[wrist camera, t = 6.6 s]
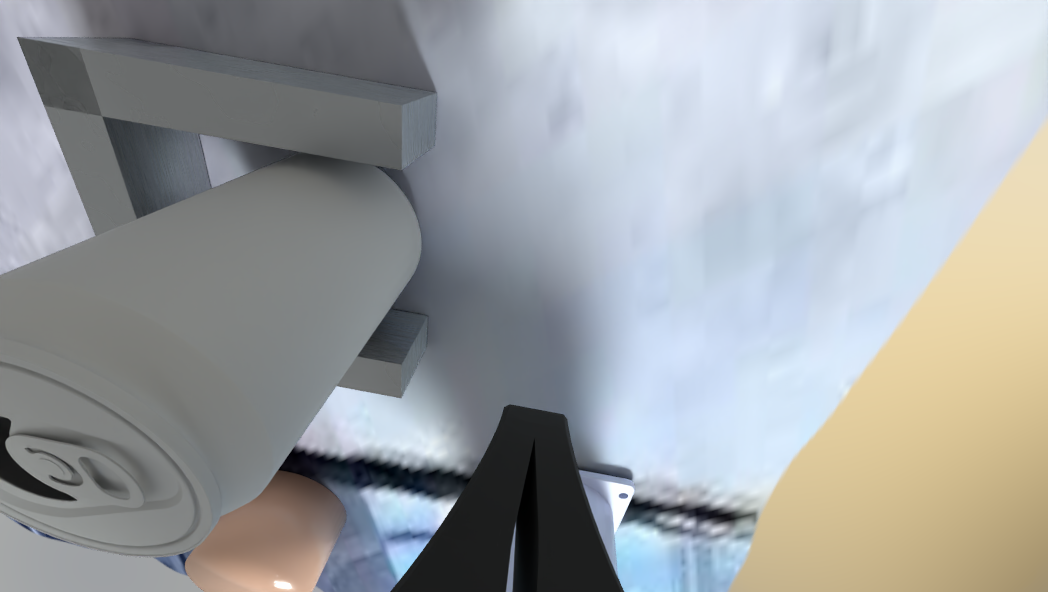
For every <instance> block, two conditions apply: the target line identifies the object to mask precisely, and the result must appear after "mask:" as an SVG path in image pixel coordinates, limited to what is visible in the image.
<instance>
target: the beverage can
mask: <svg viewBox="0 0 1048 592" xmlns="http://www.w3.org/2000/svg"><path fill="white" fill-rule="evenodd" d="M421 246H422V245H421V232H420V227H419V223H418V220H417V217H416V214H415V212H414V210H413V208H412V206H411V204H410V202H409V201H408V199H407V197H406V196H405V194H404V193H403V192H402V190H401V189H400V188H399V187H398V186H397V184H396V183H395V182H394V181H393V180H392V179H391V178H390V177H389V176H387V175H386V174H385V173H384V172H383V171H381V170H380V169H379V168H377V167H376V166H374V165H369V164H364V163H358V162H353V161H347V160H342V159H336V158H331V157H325V156H320V155H314V154H308V153H303V152H300V153H297V154H295V155H292V156H290V157H287V158H285V159H283V160H280V161H278V162H275V163H273V164H270V165H268V166H265V167H263V168H261V169H258V170H256V171H253V172H251V173H248V174H246V175H243V176H241V177H239V178H236V179H234V180H231V181H229V182H226V183H224V184H222V185H219V186H217V187H214V188H212V189H209V190H207V191H204V192H202V193H200V194H197V195H195V196H192V197H190V198H187V199H185V200H182V201H180V202H178V203H175V204H173V205H170V206H168V207H165V208H163V209H161V210H158V211H156V212H153V213H151V214H148V215H146V216H143V217H141V218H139V219H136V220H134V221H131V222H129V223H126V224H124V225H121V226H119V227H117V228H114V229H112V230H109V231H107V232H104V233H102V234H100V235H97V236H95V237H92V238H90V239H87V240H85V241H82V242H80V243H78V244H75V245H73V246H70V247H68V248H65V249H63V250H60V251H58V252H56V253H53V254H51V255H48V256H46V257H43V258H41V259H39V260H36V261H34V262H31V263H29V264H26V265H24V266H21V267H19V268H17V269H14V270H12V271H9V272H7V273H4V274H2V275H0V513H2V514H4V515H6V516H8V517H10V518H12V519H14V520H16V521H18V522H20V523H22V524H24V525H27V526H29V527H31V528H33V529H36V530H38V531H41V532H43V533H46V534H48V535H51V536H53V537H56V538H59V539H61V540H64V541H67V542H70V543H73V544H77V545H80V546H83V547H87V548H91V549H95V550H99V551H103V552H108V553H113V554H119V555H125V556H135V557H166V556H173V555H178V554H182V553H185V552H188V551H190V550H192V549H194V548H196V547H197V546H199V545H200V544H201V543H202V542H203V541H204V540H205V539H206V538H207V536H208V535H209V534H210V532H211V531H212V530H213V528H214V527H215V526H216V524H217V523H218V521H219V518H220V517H221V516H223V515H225V514H227V513H230V512H232V511H234V510H236V509H237V508H239V507H241V506H243V505H245V504H247V503H249V502H250V501H252V500H253V499H255V498H256V497H257V496H258V495H260V494H261V493H262V492H263V490H264V489H265V488H266V486H267V485H268V484H269V482H270V481H271V479H272V478H273V476H274V475H275V474H276V472H277V471H278V469H279V468H280V466H281V465H282V464H283V462H284V461H285V459H286V458H287V456H288V455H289V453H290V452H291V451H292V449H293V448H294V446H295V445H296V443H297V442H298V441H299V439H300V438H301V436H302V435H303V433H304V432H305V430H306V429H307V428H308V426H309V425H310V423H311V422H312V420H313V419H314V417H315V416H316V415H317V413H318V412H319V410H320V409H321V407H322V406H323V405H324V403H325V402H326V400H327V399H328V397H329V396H330V394H331V393H332V392H333V390H334V389H335V387H336V386H337V384H338V383H339V381H340V380H341V379H342V377H343V376H344V374H345V373H346V371H347V370H348V369H349V367H350V366H351V364H352V363H353V361H354V360H355V358H356V357H357V356H358V354H359V353H360V351H361V350H362V348H363V347H364V345H365V344H366V343H367V341H368V340H369V338H370V337H371V335H372V334H373V333H374V331H375V330H376V328H377V327H378V325H379V324H380V322H381V321H382V320H383V318H384V317H385V315H386V314H387V312H388V311H389V309H390V308H391V307H392V305H393V304H394V302H395V301H396V299H397V298H398V297H399V295H400V294H401V292H402V291H403V289H404V288H405V286H406V285H407V284H408V282H409V281H410V279H411V278H412V276H413V274H414V273H415V271H416V269H417V266H418V263H419V260H420V255H421Z"/></svg>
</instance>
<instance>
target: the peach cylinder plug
mask: <svg viewBox="0 0 1048 592" xmlns="http://www.w3.org/2000/svg"><path fill="white" fill-rule="evenodd" d="M345 523H346V511H345V508H344V506H343V504H342V503H341V501H340V500H339V499H338V498H337V497H336V496H335V495H334V494H333V493H332V492H331V491H330V490H329V489H327V488H326V487H324V486H323V485H321V484H319V483H318V482H316V481H314V480H312V479H310V478H307V477H305V476H302V475H299V474H295V473H291V472H286V471H277V472H276V474H275V475H274V476H273V478H272V479H271V481H270V482H269V484H268V485H267V486H266V488H265V489H264V490H263V492H262V493H261V494H260V495H258V496H257V497H256V498H255V499H253V500H252V501H250V502H249V503H247V504H245V505H243V506H241V507H239V508H237V509H236V510H234V511H232V512H230V513H227V514H225V515H223V516H221V517H220V518H219V521H218V523H217V524H216V526H215V527H214V528H213V530H212V531H211V532H210V534H209V535H208V536H207V538H206V539H205V540H204V541H203V542H202V543H201V544H200V545H199V546H197V547H196V548H195V549H194V550H193V551H192V553H191V554H190V555H189V557H188V558H187V560H186V562H185V569H186V572H187V574H188V576H189V577H190V579H191V580H192V581H193V582H194V583H195V584H196V585H197V586H198V587H199V588H200V589H201V590H203V591H204V592H312V591H313V589H314V587H315V585H316V583H317V581H318V579H319V577H320V575H321V572H322V570H323V568H324V566H325V564H326V562H327V560H328V558H329V556H330V554H331V552H332V550H333V548H334V545H335V543H336V541H337V539H338V537H339V535H340V533H341V531H342V529H343V527H344V525H345Z"/></svg>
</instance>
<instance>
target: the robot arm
mask: <svg viewBox="0 0 1048 592" xmlns="http://www.w3.org/2000/svg"><path fill="white" fill-rule="evenodd" d="M634 492H635V485H634V483H633V481H631V480H629V479H625V478H620V477H614V476H609V475H604V474H598V473H593V472H588V471H582V470H578V466H577V462H576V459H575V455H574V451H573V447H572V443H571V438H570V434H569V428H568V422H567V419H566V417H565V416H564V415H563V414H558V413H552V412H547V411H542V410H536V409H531V408H526V407H520V406H515V405H508V406H506V407H504V410H503V414H502V417H501V420H500V422H499V425H498V427H497V430H496V432H495V434H494V436H493V439H492V441H491V443H490V445H489V447H488V449H487V451H486V453H485V455H484V456H483V458H482V460H481V462H480V463H479V465H478V467H477V469H476V470H475V472H474V474H473V476H472V477H471V479H470V481H469V483H468V484H467V486H466V488H465V489H464V491H463V492H462V494H461V495H460V497H459V498H458V500H457V501H456V503H455V504H454V506H453V508H452V509H451V511H450V512H449V514H448V515H447V517H446V518H445V520H444V521H443V523H442V524H441V526H440V527H439V528H438V530H437V531H436V533H435V534H434V536H433V537H432V538H431V540H430V541H429V542H428V544H427V545H426V547H425V548H424V549H423V551H422V552H421V553H420V555H419V556H418V557H417V559H416V560H415V561H414V563H413V564H412V565H411V567H410V568H409V569H408V570H407V572H406V573H405V574H404V576H403V577H402V578H401V579H400V580H399V582H398V583H397V584H396V585H395V587H394V588H393V589H392V590H391V592H624V591H623V588H622V586H621V584H620V581H619V579H618V573H617V560H616V547H615V533H616V531H617V529H618V527H619V525H620V522H621V520H622V518H623V516H624V514H625V511H626V509H627V507H628V505H629V503H630V501H631V498H632V496H633V494H634Z"/></svg>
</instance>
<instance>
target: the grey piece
mask: <svg viewBox="0 0 1048 592" xmlns="http://www.w3.org/2000/svg"><path fill="white" fill-rule="evenodd" d="M17 39H18V41H19V44H20V46H21V49H22V51H23V54H24V56H25V59H26V61H27V64H28V66H29V69H30V71H31V74H32V76H33V79H34V81H35V84H36V87H37V89H38V92H39V94H40V97H41V99H42V102H43V104H44V107H45V109H46V112H47V114H48V117H49V119H50V122H51V124H52V127H53V129H54V132H55V134H56V137H57V139H58V142H59V144H60V147H61V150H62V152H63V155H64V157H65V160H66V162H67V165H68V167H69V170H70V172H71V175H72V177H73V180H74V182H75V185H76V187H77V190H78V192H79V195H80V197H81V200H82V202H83V205H84V208H85V210H86V213H87V215H88V218H89V220H90V223H91V225H92V228H93V230H94V233H95V235H96V236H97V235H100V234H102V233H104V232H107V231H109V230H112V229H114V228H117V227H119V226H121V225H124V224H126V223H129V222H131V221H134V220H136V219H139V218H141V217H143V216H146V215H148V214H151V213H153V212H156V211H158V210H161V209H163V208H165V207H168V206H170V205H173V204H175V203H178V202H180V201H182V200H185V199H187V198H190V197H192V196H195V195H197V194H200V193H202V192H204V191H207V190H209V189H211V186H210V181H209V177H208V173H207V168H206V164H205V160H204V156H203V151H202V147H201V143H200V138H199V134H203V135H209V136H214V137H220V138H225V139H231V140H236V141H242V142H247V143H253V144H258V145H264V146H270V147H275V148H281V149H286V150H292V151H297V152H303V153H308V154H314V155H320V156H325V157H331V158H336V159H342V160H347V161H353V162H358V163H364V164H369V165H375V166H381V167H386V168H392V169H397V170H403V169H404V168H406V167H407V166H408V165H410V164H411V163H412V162H414V161H415V160H417V159H418V158H419V157H421V156H422V155H423V154H425V153H426V152H427V151H429V150H430V149H431V148H433V147H434V146H435V130H436V106H437V93H436V92H430V91H424V90H419V89H413V88H407V87H402V86H396V85H390V84H385V83H379V82H374V81H368V80H362V79H357V78H351V77H345V76H340V75H334V74H328V73H323V72H317V71H312V70H306V69H300V68H295V67H289V66H283V65H278V64H272V63H267V62H261V61H255V60H250V59H244V58H238V57H233V56H227V55H221V54H216V53H210V52H205V51H199V50H193V49H188V48H182V47H176V46H171V45H165V44H159V43H154V42H148V41H143V40H137V39H131V38H76V37H17ZM427 328H428V316H427V315H421V314H416V313H410V312H405V311H400V310H394V309H389V311H388V312H387V314H386V315H385V317H384V318H383V320H382V321H381V322H380V324H379V325H378V327H377V328H376V330H375V331H374V333H373V334H372V335H371V337H370V338H369V340H368V341H367V343H366V344H365V345H364V347H363V348H362V350H361V351H360V353H359V354H358V356H357V357H356V358H355V360H354V361H353V363H352V364H351V366H350V367H349V369H348V370H347V371H346V373H345V374H344V376H343V377H342V379H341V380H340V381H339V383H338V384H337V386H339V387H344V388H350V389H355V390H360V391H366V392H371V393H376V394H382V395H387V396H392V397H398V398H402V396H403V394H404V392H405V390H406V388H407V386H408V384H409V382H410V380H411V378H412V376H413V373H414V371H415V369H416V367H417V365H418V363H419V361H420V359H421V357H422V355H423V353H424V351H425V349H426V347H427Z"/></svg>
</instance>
